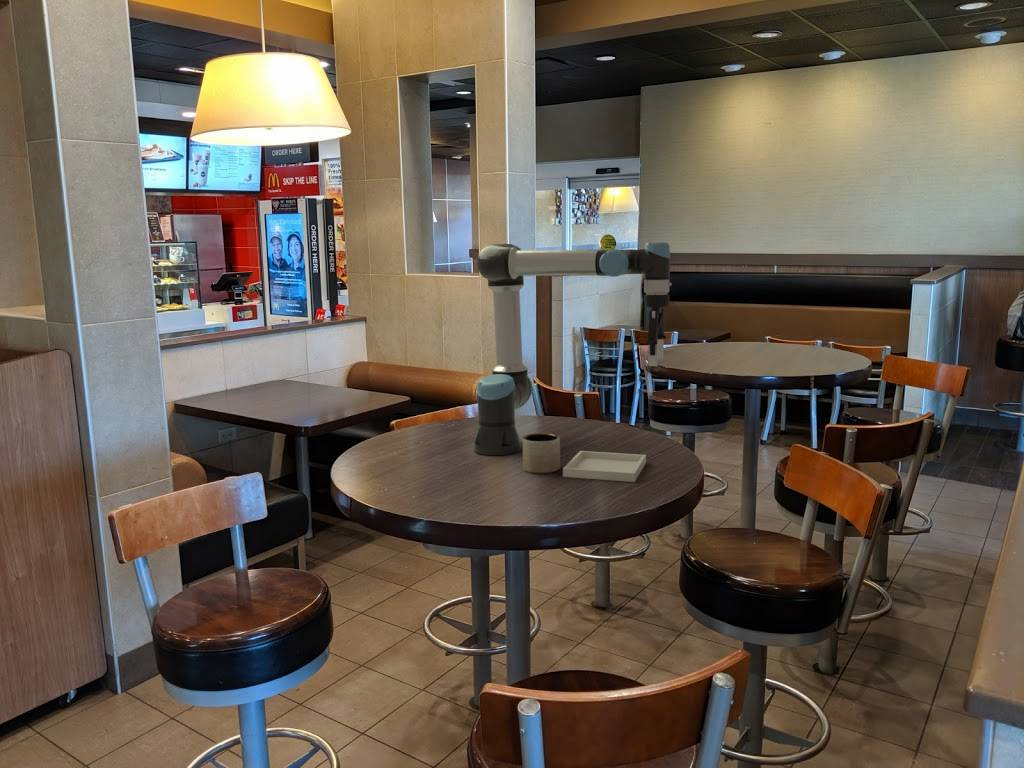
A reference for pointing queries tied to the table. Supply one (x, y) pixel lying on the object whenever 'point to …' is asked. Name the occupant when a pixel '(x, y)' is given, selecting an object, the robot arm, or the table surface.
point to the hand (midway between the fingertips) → (655, 362)
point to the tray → (605, 466)
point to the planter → (541, 453)
